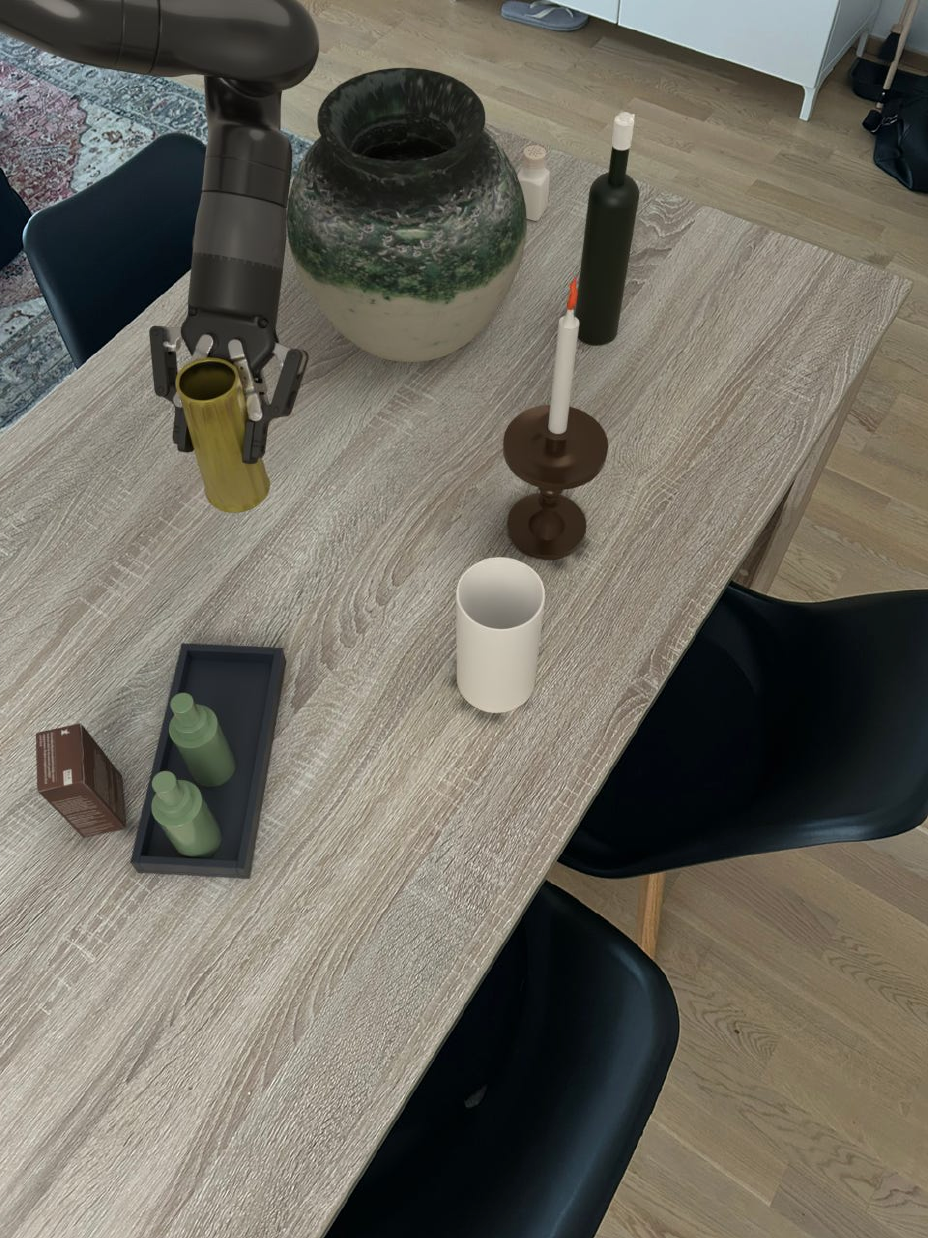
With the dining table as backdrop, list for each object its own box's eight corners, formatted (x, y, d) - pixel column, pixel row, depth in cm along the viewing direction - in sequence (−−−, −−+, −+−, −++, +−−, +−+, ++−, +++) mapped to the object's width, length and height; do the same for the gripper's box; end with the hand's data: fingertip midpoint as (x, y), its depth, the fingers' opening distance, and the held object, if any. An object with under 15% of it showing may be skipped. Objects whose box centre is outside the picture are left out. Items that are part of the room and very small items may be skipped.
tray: (137, 873, 98) (129, 863, 95) (187, 656, 110) (181, 642, 108) (249, 879, 97) (244, 869, 95) (286, 661, 110) (282, 647, 108)
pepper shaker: (548, 207, 151) (553, 147, 143) (538, 223, 149) (542, 163, 141) (523, 200, 151) (526, 140, 143) (512, 216, 149) (515, 156, 141)
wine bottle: (623, 341, 136) (659, 126, 110) (581, 349, 135) (608, 134, 110) (609, 311, 139) (641, 96, 113) (567, 319, 138) (591, 103, 113)
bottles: (170, 860, 98) (131, 805, 86) (195, 745, 104) (162, 679, 92) (217, 863, 97) (184, 807, 86) (239, 747, 104) (211, 681, 92)
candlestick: (524, 478, 123) (543, 226, 94) (608, 512, 121) (655, 263, 91) (482, 544, 118) (489, 299, 89) (569, 580, 116) (606, 340, 86)
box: (76, 784, 102) (33, 730, 92) (123, 775, 103) (85, 720, 93) (79, 842, 99) (35, 792, 89) (126, 831, 100) (88, 781, 90)
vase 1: (283, 487, 98) (259, 377, 86) (234, 525, 96) (201, 417, 84) (241, 453, 100) (211, 341, 88) (191, 490, 98) (154, 380, 86)
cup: (519, 636, 112) (527, 547, 98) (546, 700, 108) (558, 617, 94) (446, 656, 110) (444, 569, 97) (470, 722, 106) (471, 641, 93)
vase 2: (519, 258, 145) (531, 41, 119) (521, 409, 129) (535, 197, 104) (315, 255, 145) (284, 39, 119) (293, 405, 130) (252, 194, 104)
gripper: (332, 275, 90) (308, 468, 94) (177, 250, 92) (159, 441, 96) (306, 265, 83) (280, 475, 87) (138, 238, 85) (120, 445, 89)
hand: (217, 456), depth 92 cm, fingers closed on vase 1, 5 cm apart
